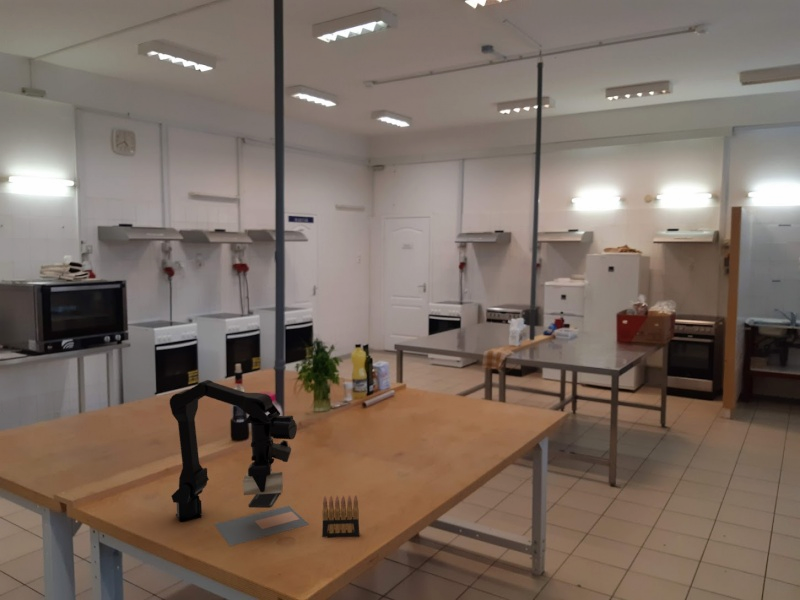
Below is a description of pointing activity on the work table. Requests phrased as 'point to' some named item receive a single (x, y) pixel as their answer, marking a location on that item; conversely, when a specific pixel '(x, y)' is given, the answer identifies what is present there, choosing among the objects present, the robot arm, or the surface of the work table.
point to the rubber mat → (260, 525)
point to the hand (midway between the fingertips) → (263, 488)
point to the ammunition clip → (340, 518)
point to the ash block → (272, 485)
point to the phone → (264, 500)
